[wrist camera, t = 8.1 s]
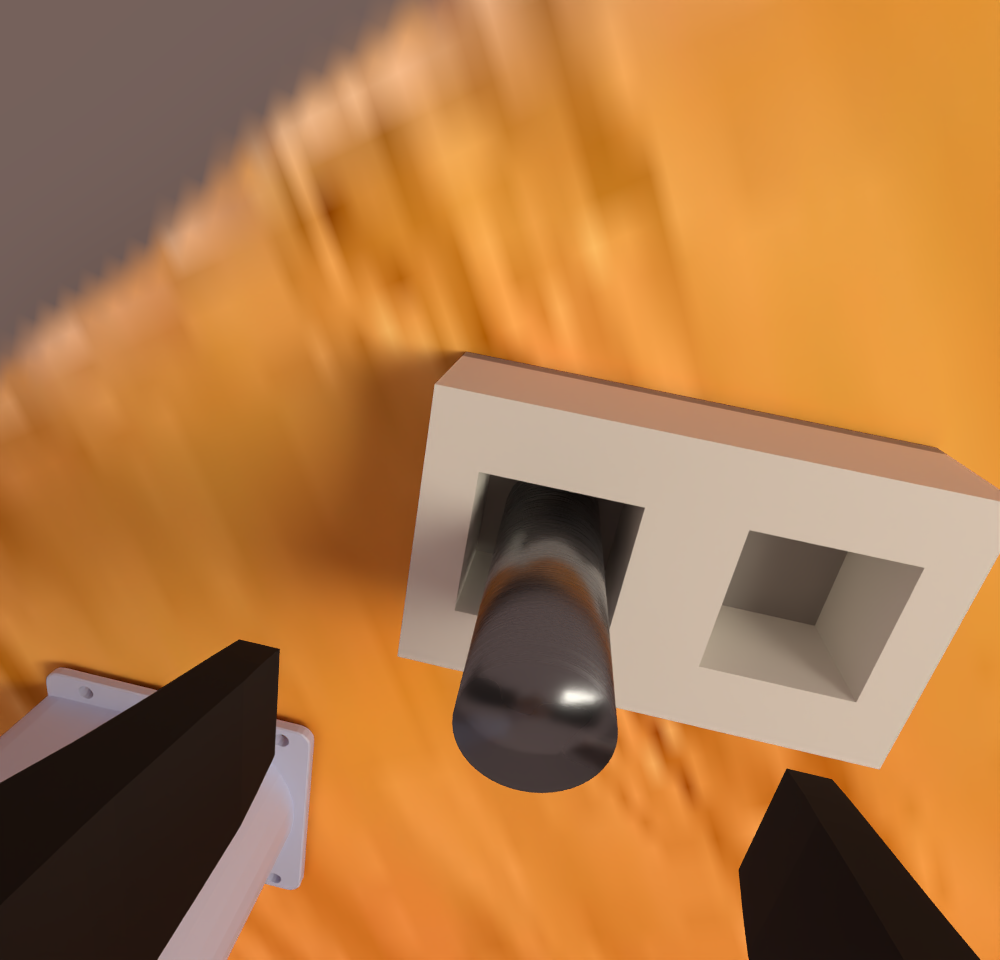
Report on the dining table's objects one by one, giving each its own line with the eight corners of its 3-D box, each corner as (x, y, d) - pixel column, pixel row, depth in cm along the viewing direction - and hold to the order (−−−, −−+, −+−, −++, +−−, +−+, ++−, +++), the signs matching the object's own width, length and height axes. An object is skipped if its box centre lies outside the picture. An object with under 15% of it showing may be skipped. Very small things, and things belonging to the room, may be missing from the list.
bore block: (829, 673, 18) (879, 769, 15) (430, 582, 19) (397, 656, 16) (936, 448, 16) (1025, 506, 12) (466, 352, 16) (435, 383, 13)
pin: (504, 550, 18) (453, 784, 10) (506, 465, 17) (451, 655, 9) (595, 556, 17) (610, 800, 10) (602, 470, 16) (624, 669, 9)
